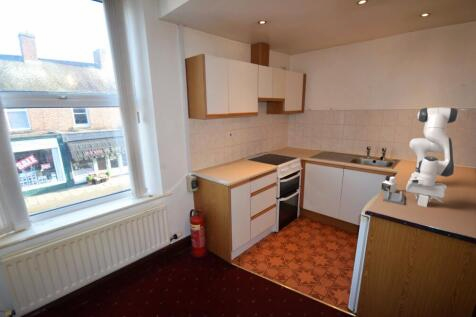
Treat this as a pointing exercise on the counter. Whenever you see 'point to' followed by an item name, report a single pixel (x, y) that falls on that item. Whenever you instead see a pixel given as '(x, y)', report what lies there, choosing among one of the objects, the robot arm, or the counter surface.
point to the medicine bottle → (389, 184)
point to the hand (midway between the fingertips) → (422, 200)
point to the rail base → (393, 198)
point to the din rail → (399, 198)
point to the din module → (423, 200)
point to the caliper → (437, 199)
